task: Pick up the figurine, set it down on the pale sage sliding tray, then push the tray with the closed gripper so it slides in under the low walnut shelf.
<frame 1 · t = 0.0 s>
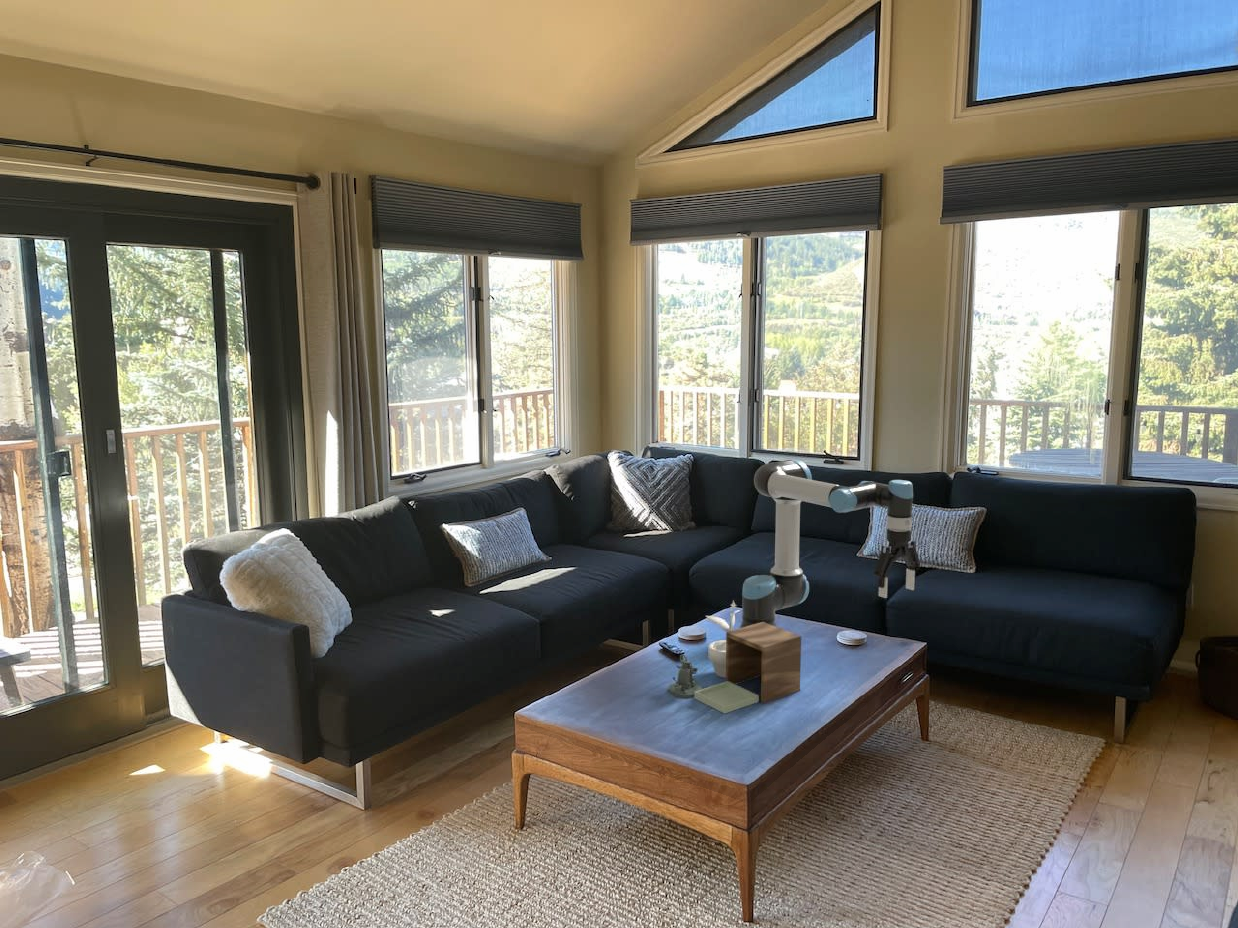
hand: (896, 592, 309), 28 cm above the table, fingers open, 13 cm apart
tray: (726, 696, 296), point 1 cm above the table, slide at 0.0 cm
shelf: (762, 687, 305), on the table
figurine: (685, 691, 303), on the table
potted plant: (724, 674, 317), on the table
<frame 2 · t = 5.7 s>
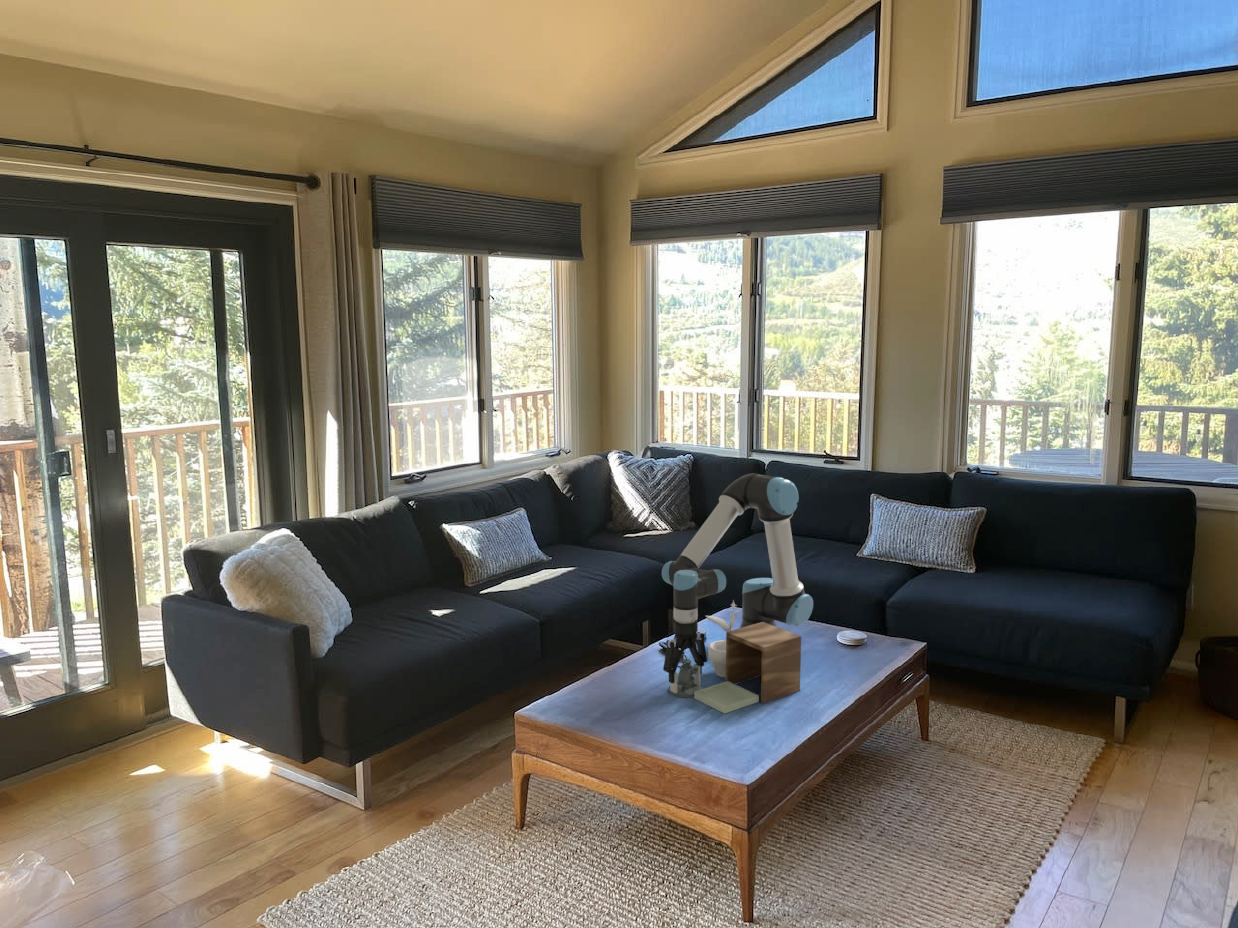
hand: (685, 688, 303), 1 cm above the table, fingers closed on figurine, 9 cm apart
figurine: (685, 691, 303), on the table, touching gripper
everything else where it was.
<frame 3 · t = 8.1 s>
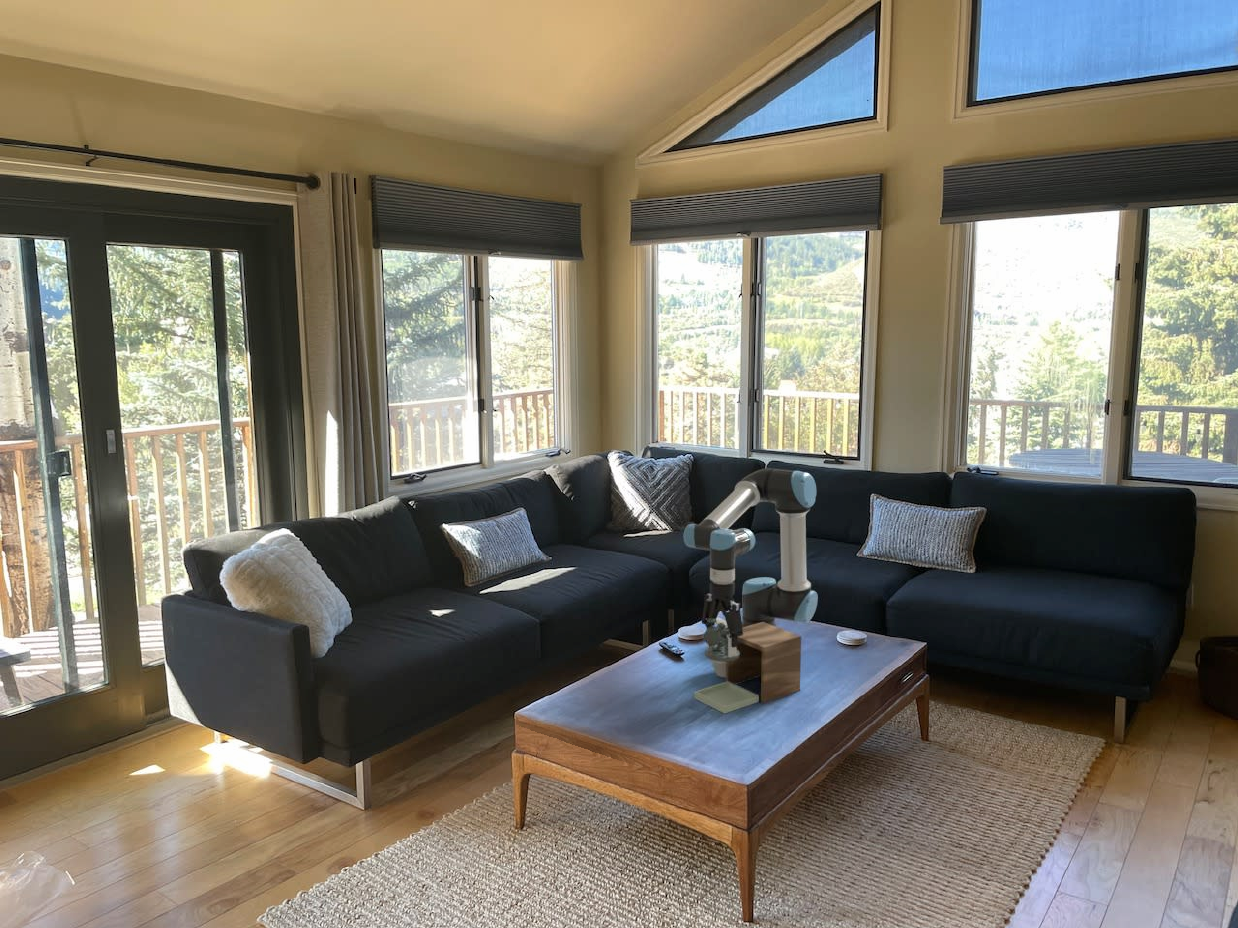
hand: (721, 651, 294), 15 cm above the table, fingers closed on figurine, 9 cm apart
figurine: (721, 655, 294), point 14 cm above the table, touching gripper
everything else where it was.
when the fingers open (4 cm above the table, at t = 10.5 s): figurine drops 2 cm, resting on tray.
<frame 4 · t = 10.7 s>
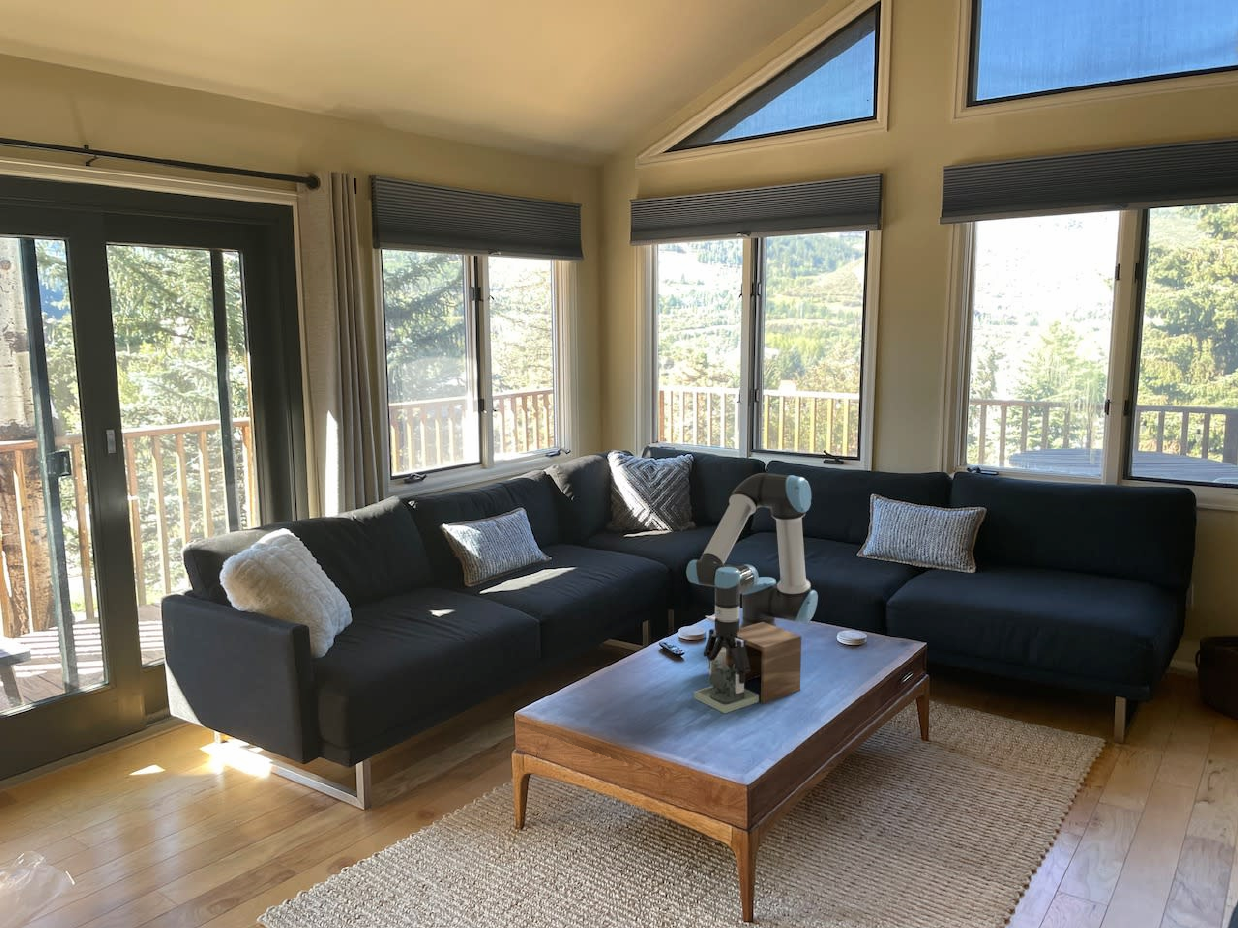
hand: (726, 686, 295), 5 cm above the table, fingers open, 11 cm apart
tray: (726, 696, 296), point 1 cm above the table, slide at 0.1 cm, touching figurine
figurine: (726, 697, 296), point 1 cm above the table, touching tray
everything else where it was.
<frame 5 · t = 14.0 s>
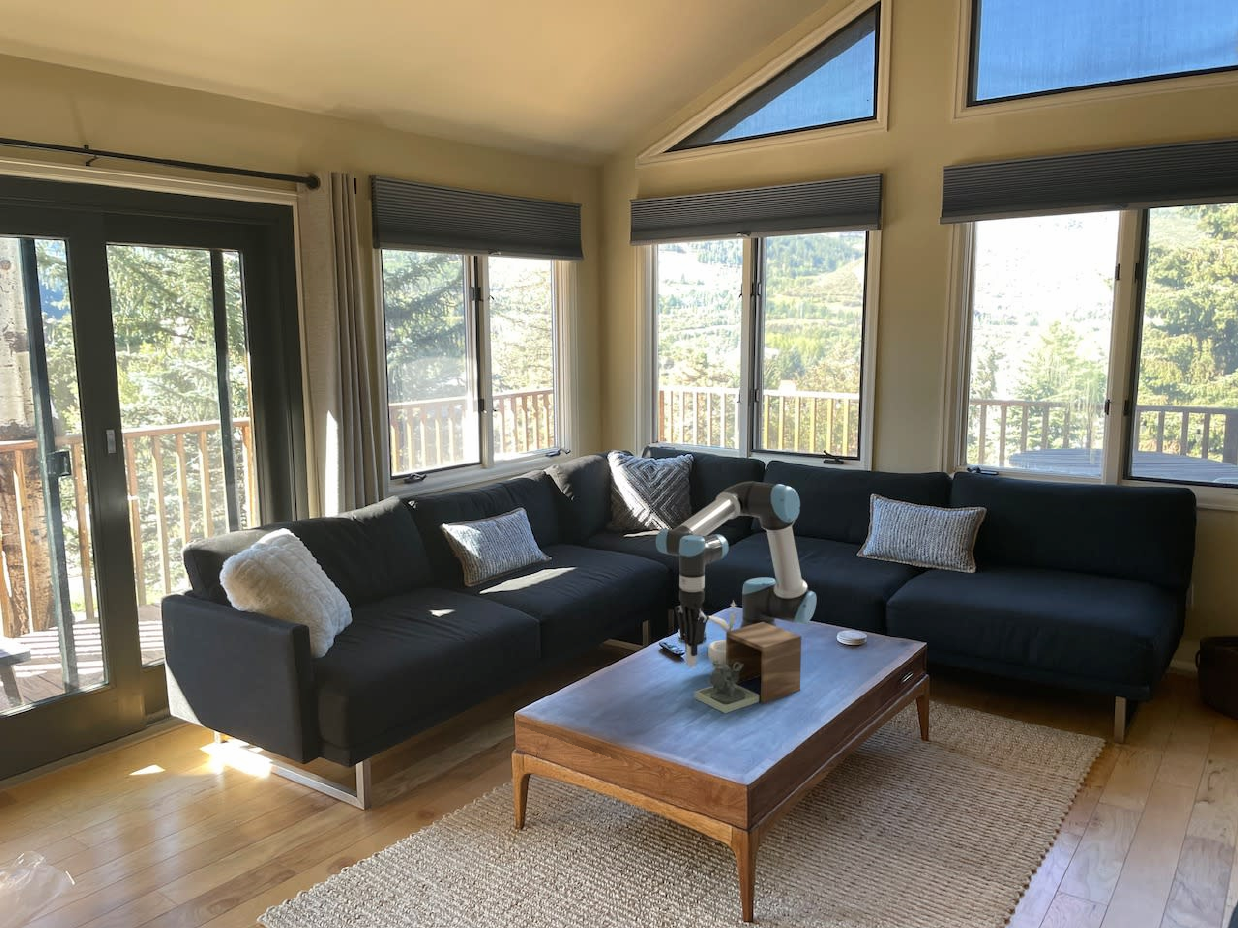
hand: (691, 664, 285), 15 cm above the table, fingers closed
nothing on the table moved.
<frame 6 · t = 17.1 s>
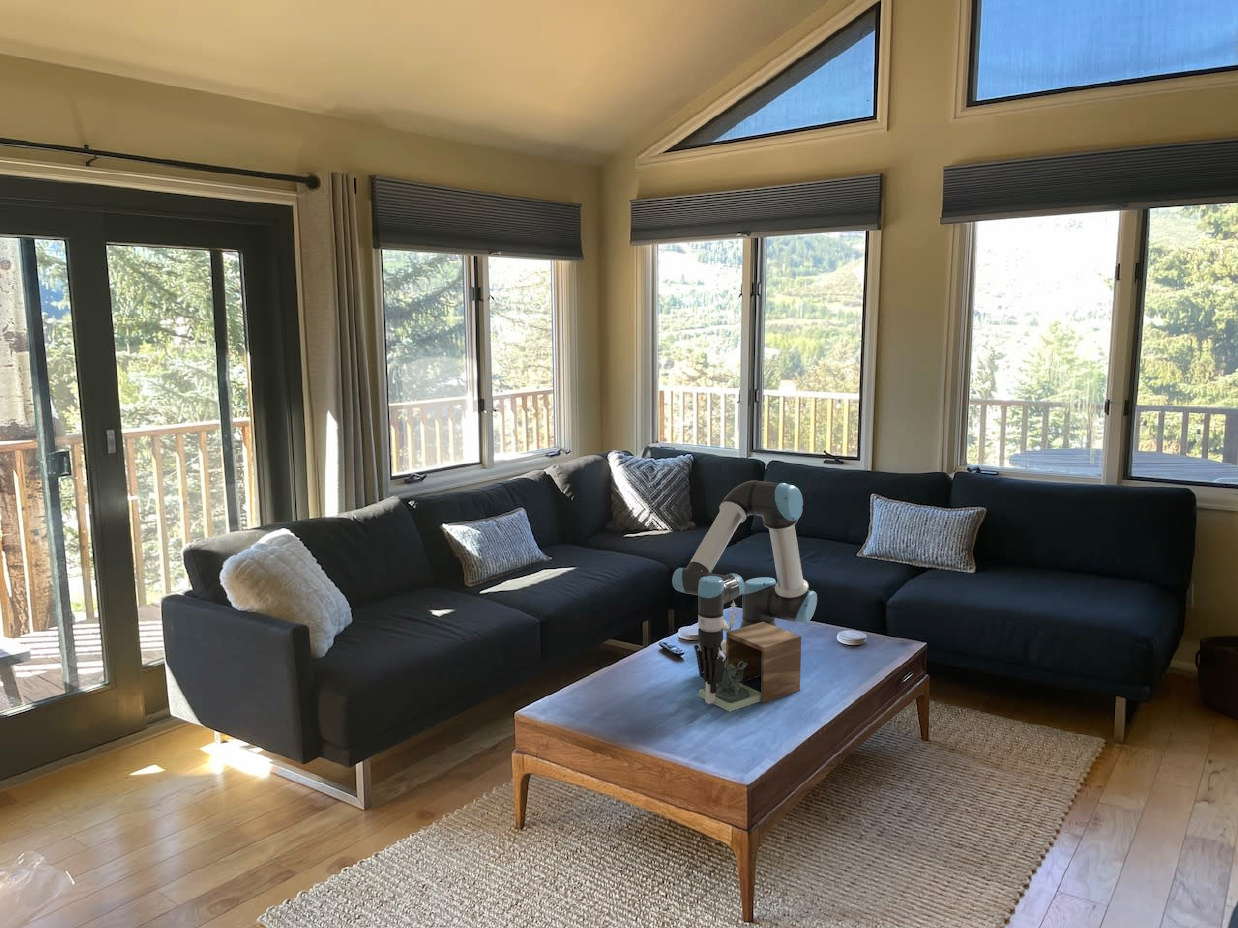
hand: (710, 701, 292), 1 cm above the table, fingers closed
tray: (731, 695, 297), point 1 cm above the table, slide at 2.0 cm, touching figurine, gripper
figurine: (731, 696, 297), point 1 cm above the table, touching tray
everything else where it was.
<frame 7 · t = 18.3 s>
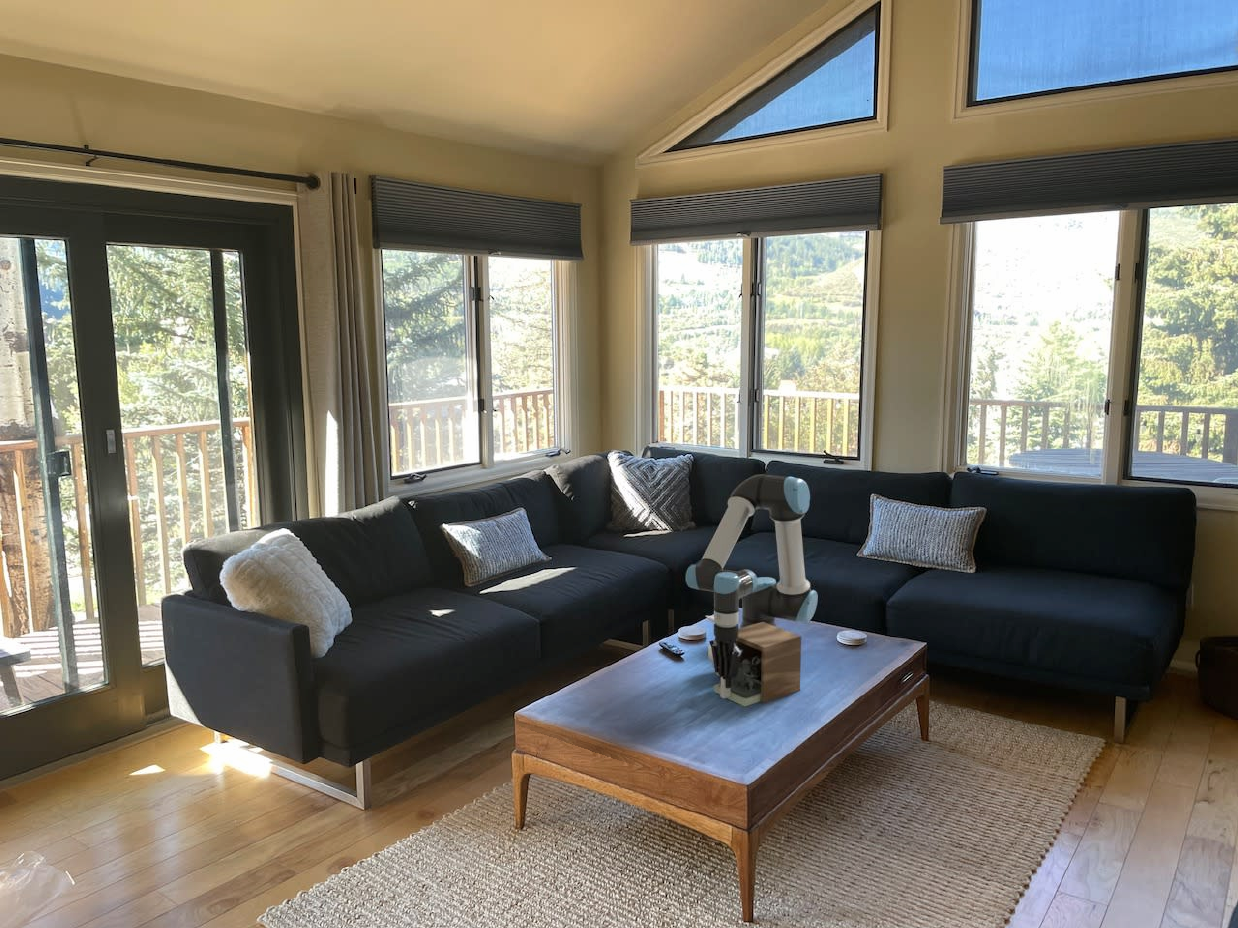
hand: (725, 696, 296), 1 cm above the table, fingers closed
tray: (745, 690, 300), point 1 cm above the table, slide at 8.2 cm, touching figurine
figurine: (746, 691, 300), point 1 cm above the table, touching tray
everything else where it was.
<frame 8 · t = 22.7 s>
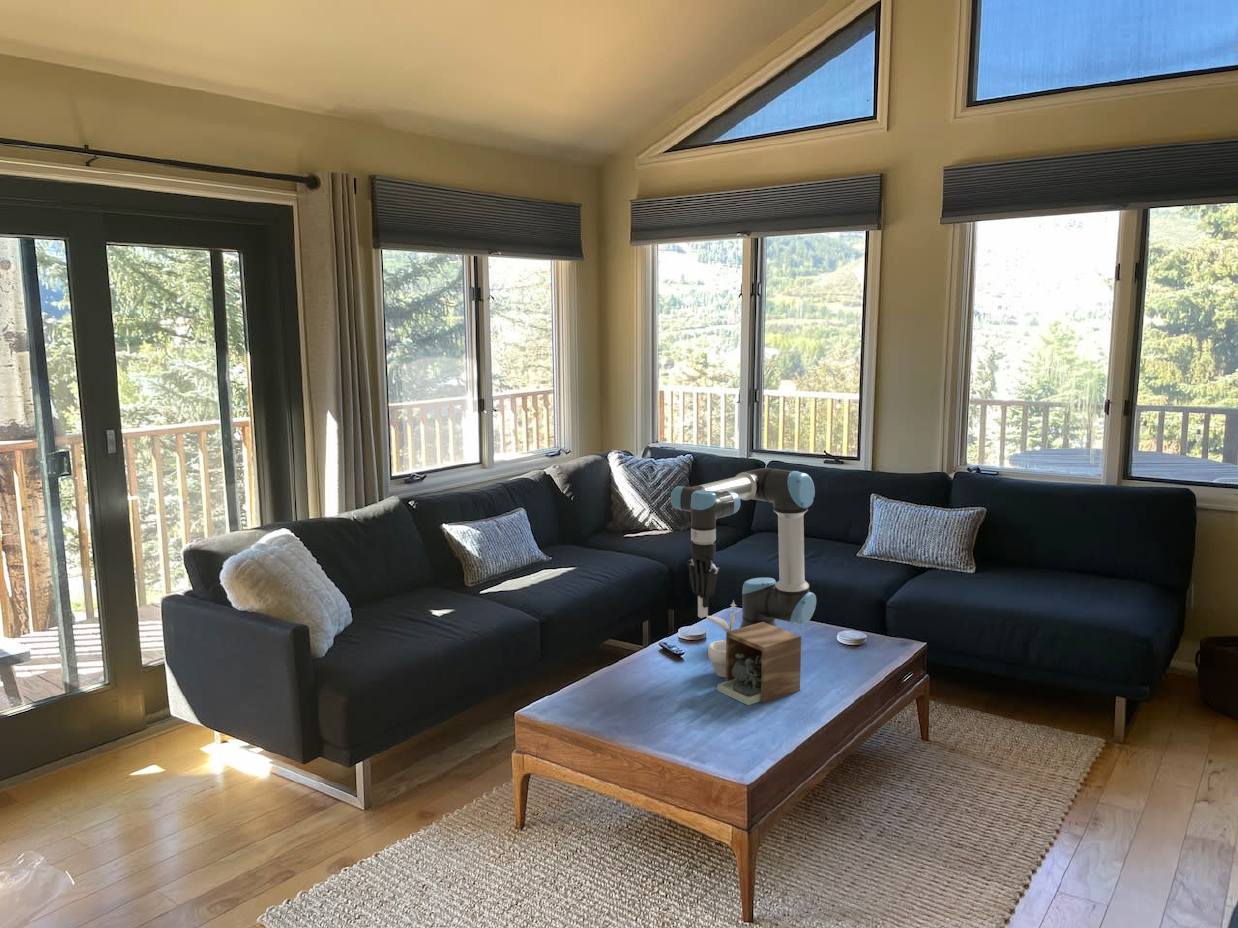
hand: (702, 616, 294), 26 cm above the table, fingers closed
tray: (749, 689, 301), point 1 cm above the table, slide at 9.7 cm, touching figurine
figurine: (749, 690, 301), point 1 cm above the table, touching tray
everything else where it was.
at the end: tray slide at 9.7 cm; figurine inside the target area on the tray (0.1 cm from its centre), point 0.8 cm above the tray's base; figurine tilted 0° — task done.
